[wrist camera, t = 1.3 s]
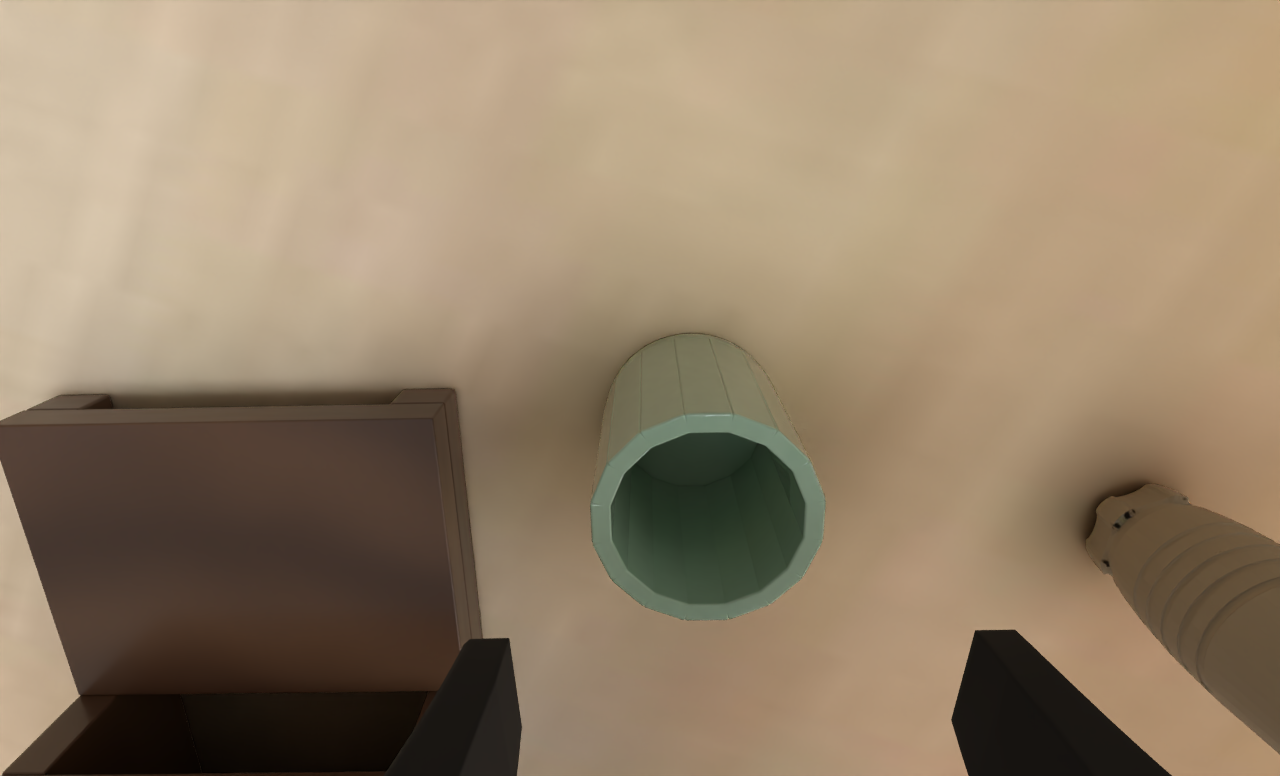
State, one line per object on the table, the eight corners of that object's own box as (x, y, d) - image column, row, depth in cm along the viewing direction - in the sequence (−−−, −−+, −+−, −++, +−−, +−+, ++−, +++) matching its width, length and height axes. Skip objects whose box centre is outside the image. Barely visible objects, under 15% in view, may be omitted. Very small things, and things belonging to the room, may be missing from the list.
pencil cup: (771, 489, 23) (818, 619, 17) (608, 491, 23) (595, 622, 17) (778, 331, 21) (833, 411, 15) (602, 334, 21) (585, 415, 15)
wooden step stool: (504, 836, 28) (463, 1039, 21) (190, 839, 28) (59, 1042, 22) (455, 387, 22) (380, 488, 16) (58, 394, 22) (-175, 497, 16)
